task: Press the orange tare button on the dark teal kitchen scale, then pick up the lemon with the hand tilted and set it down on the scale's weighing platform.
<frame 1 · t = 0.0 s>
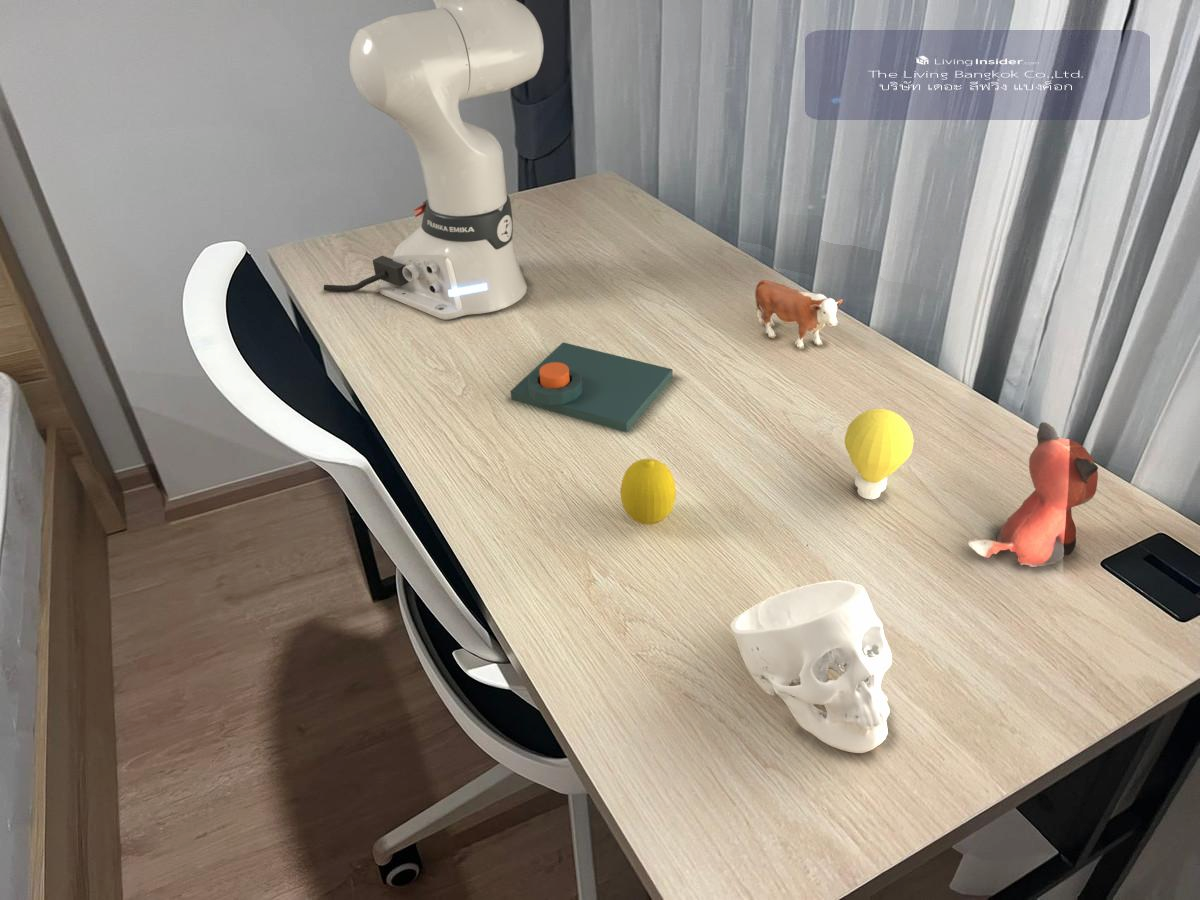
scale: (592, 389, 113), on the table
bull figurine: (794, 342, 121), on the table
lemon: (648, 523, 93), on the table
stuffed fox: (1015, 548, 88), on the table
skull bowl: (808, 685, 76), on the table
tare button: (554, 375, 109), point 3 cm above the table, slide at 0.1 cm
light bulb: (868, 493, 95), on the table
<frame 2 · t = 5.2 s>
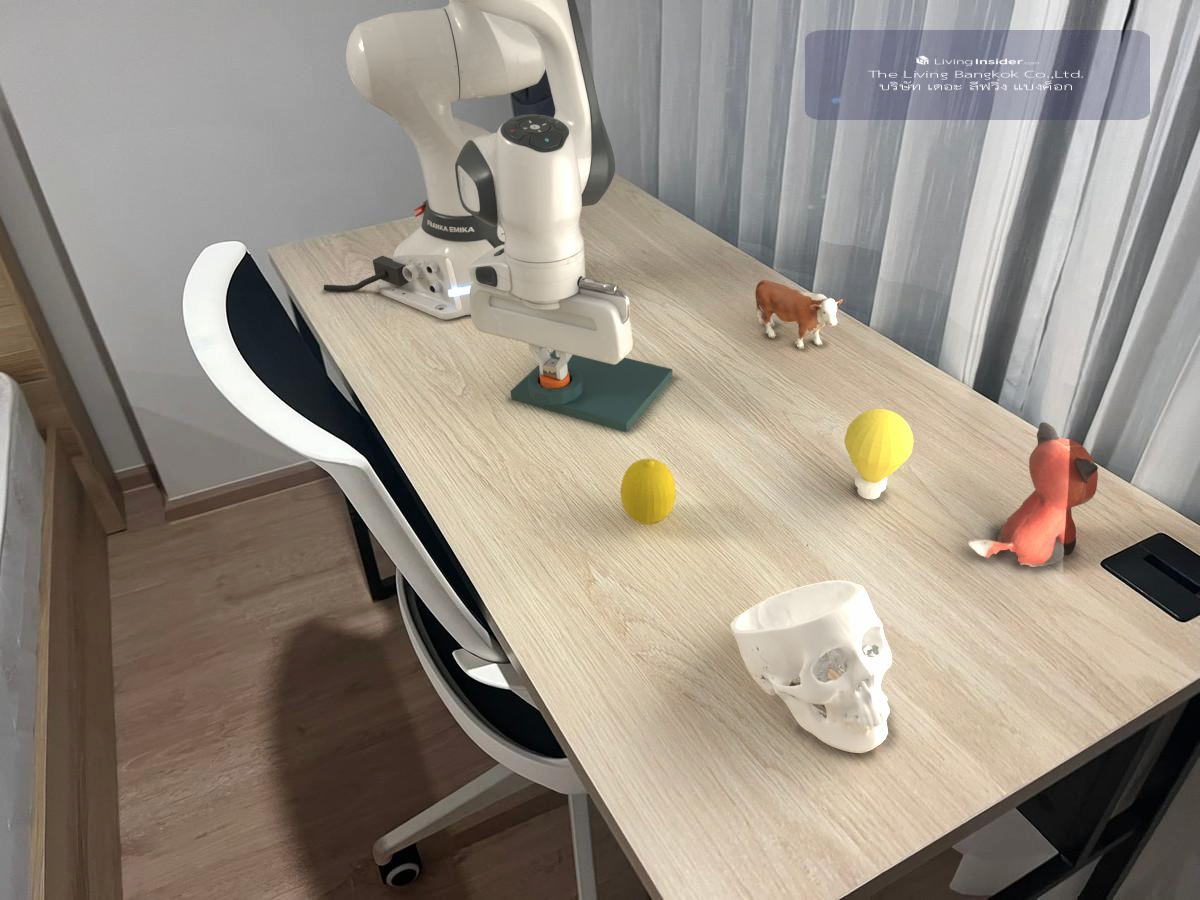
hand: (553, 375, 109), 4 cm above the table, tool pointing down, fingers closed, pressing on tare button
tare button: (554, 380, 110), point 3 cm above the table, slide at -0.6 cm, touching gripper
everything else where it was.
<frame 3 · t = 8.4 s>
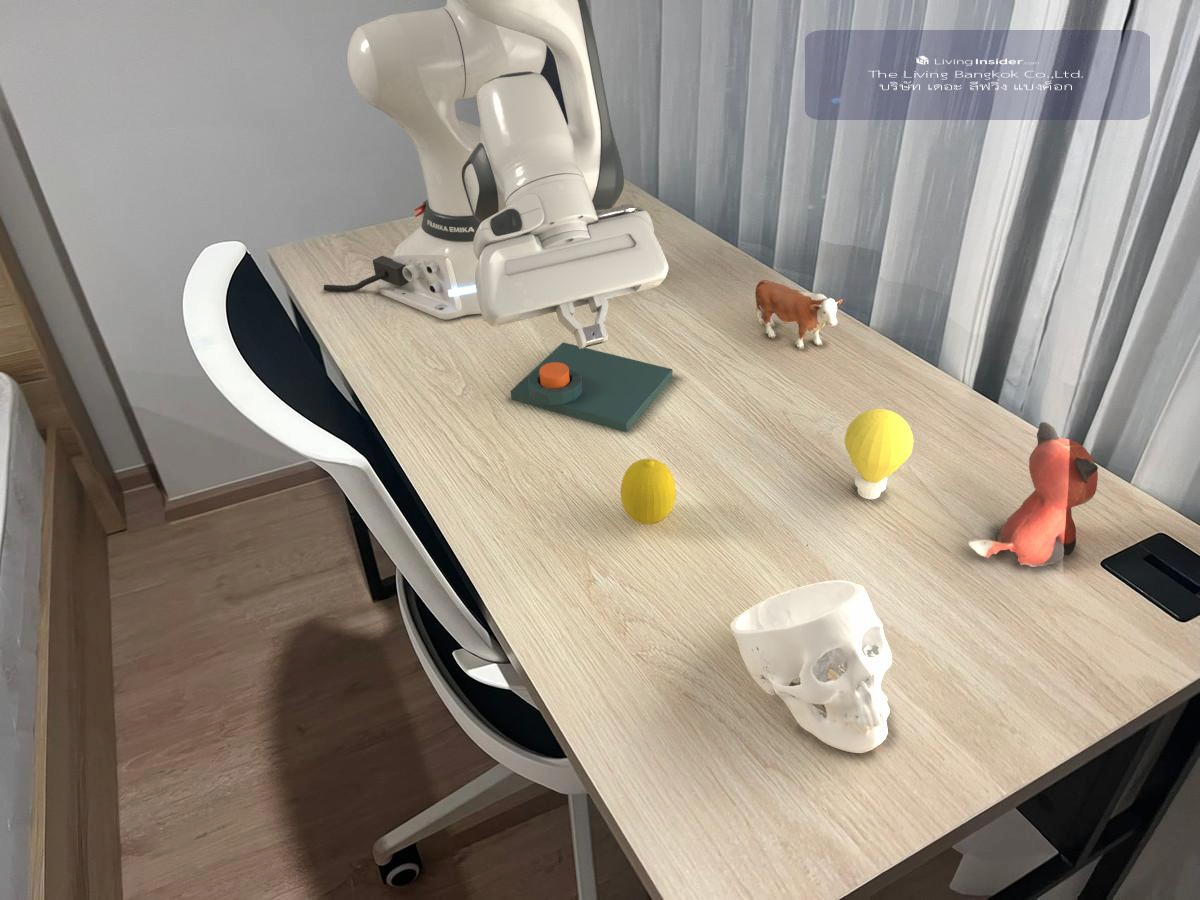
hand: (594, 344, 93), 15 cm above the table, tool tilted 45°, fingers closed
tare button: (554, 375, 109), point 3 cm above the table, slide at 0.1 cm
everything else where it was.
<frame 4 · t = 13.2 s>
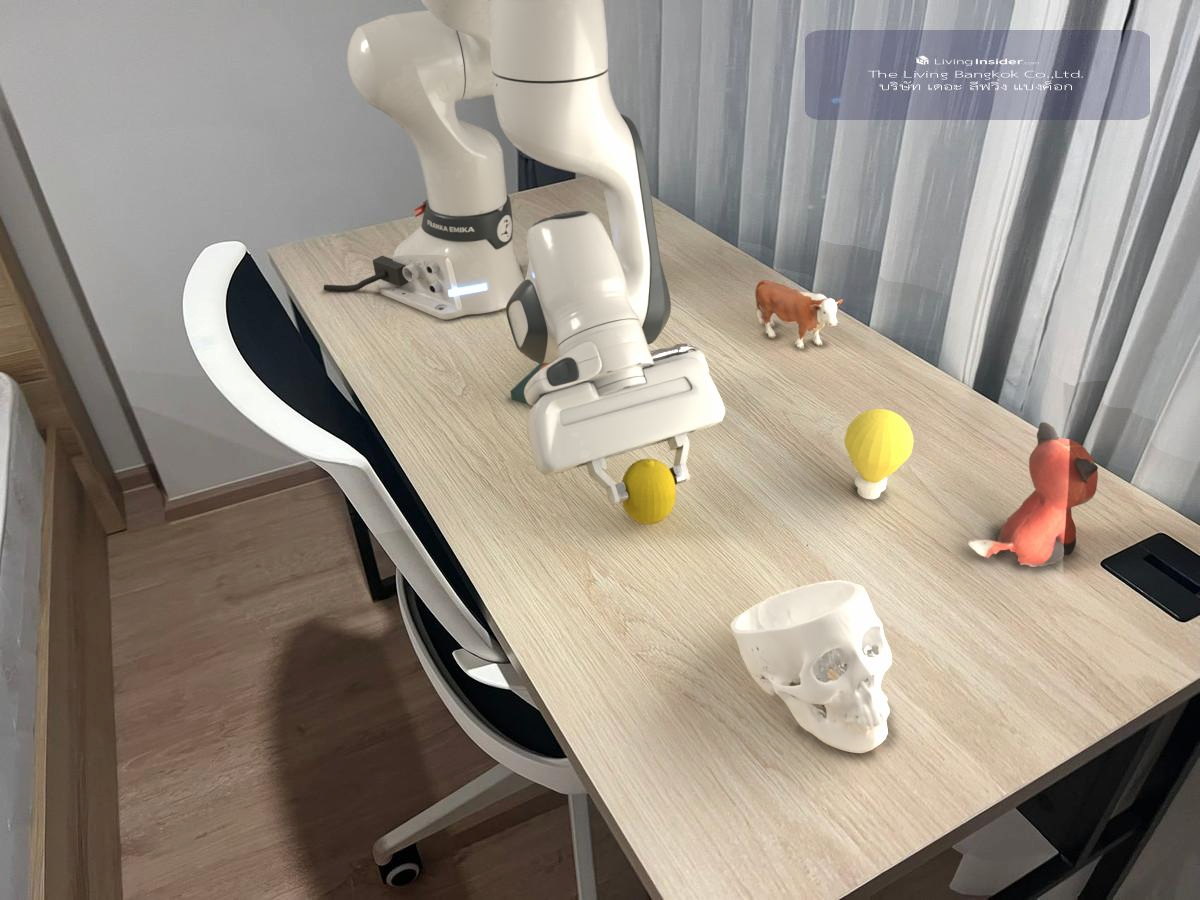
hand: (650, 492, 90), 4 cm above the table, tool tilted 45°, fingers closed on lemon, 5 cm apart
lemon: (648, 523, 93), on the table, touching gripper
everything else where it was.
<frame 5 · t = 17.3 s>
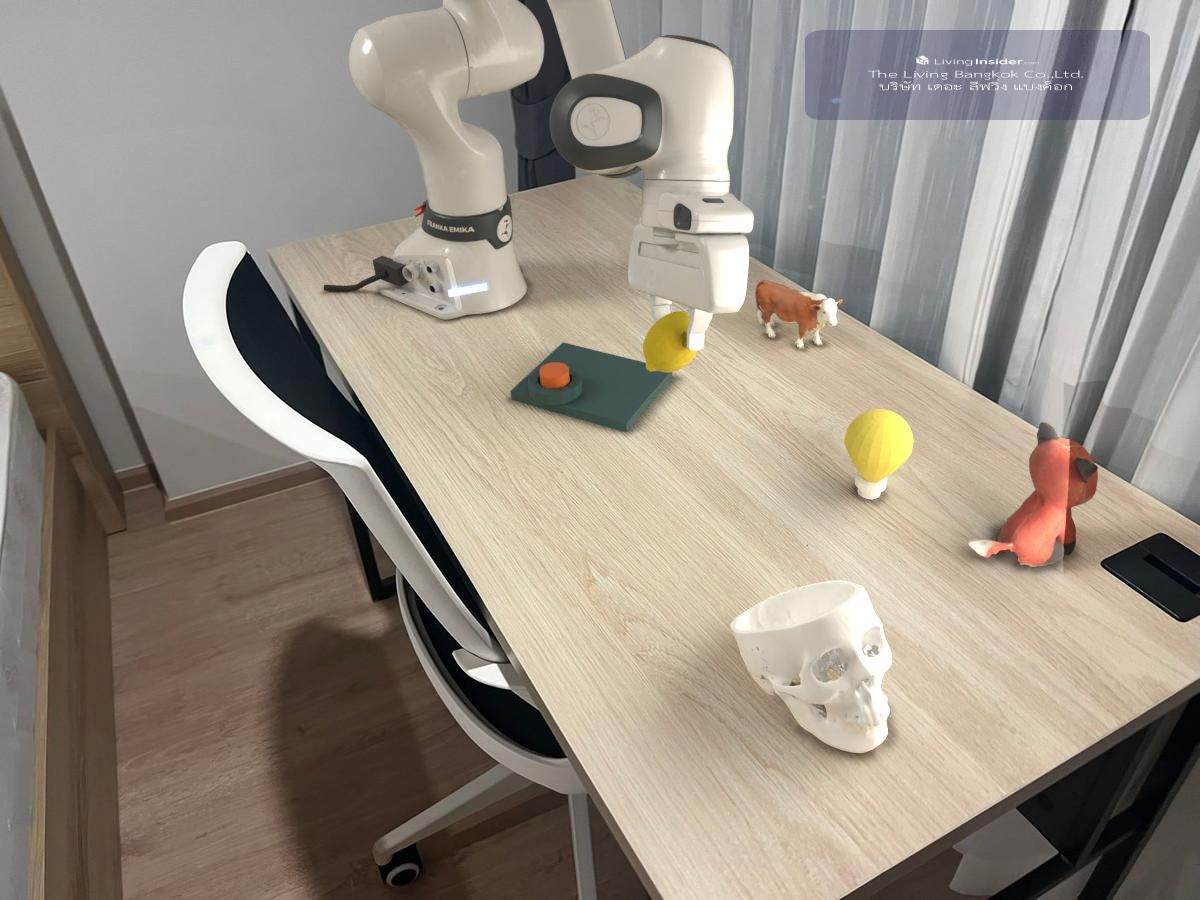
hand: (678, 343, 96), 13 cm above the table, tool tilted 20°, fingers closed on lemon, 5 cm apart
lemon: (646, 371, 96), point 11 cm above the table, touching gripper
everything else where it was.
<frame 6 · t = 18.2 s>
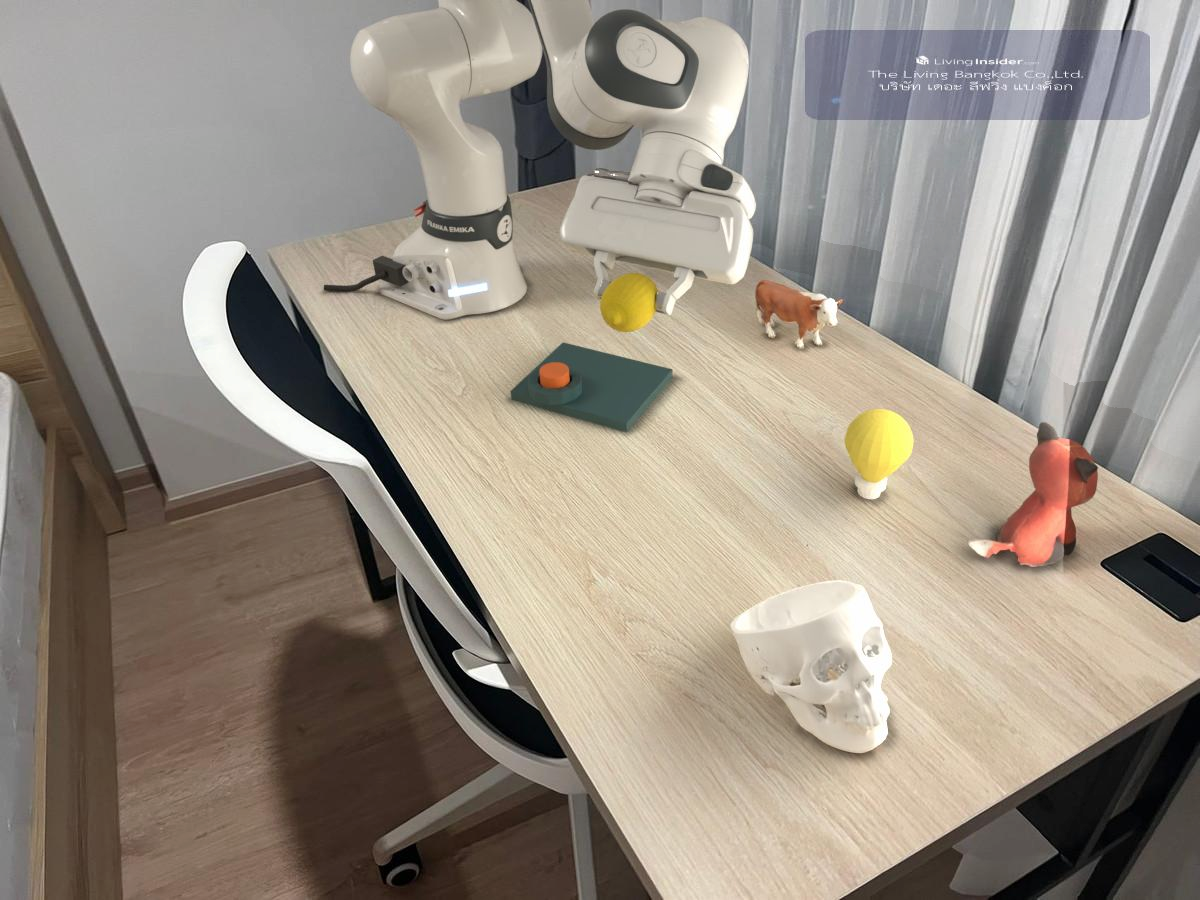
hand: (631, 305, 92), 18 cm above the table, tool tilted 45°, fingers closed on lemon, 5 cm apart
lemon: (610, 321, 89), point 19 cm above the table, touching gripper
everything else where it was.
when the fingers open (4 cm above the table, at t = 24.2 s): lemon stays where it is, resting on scale.
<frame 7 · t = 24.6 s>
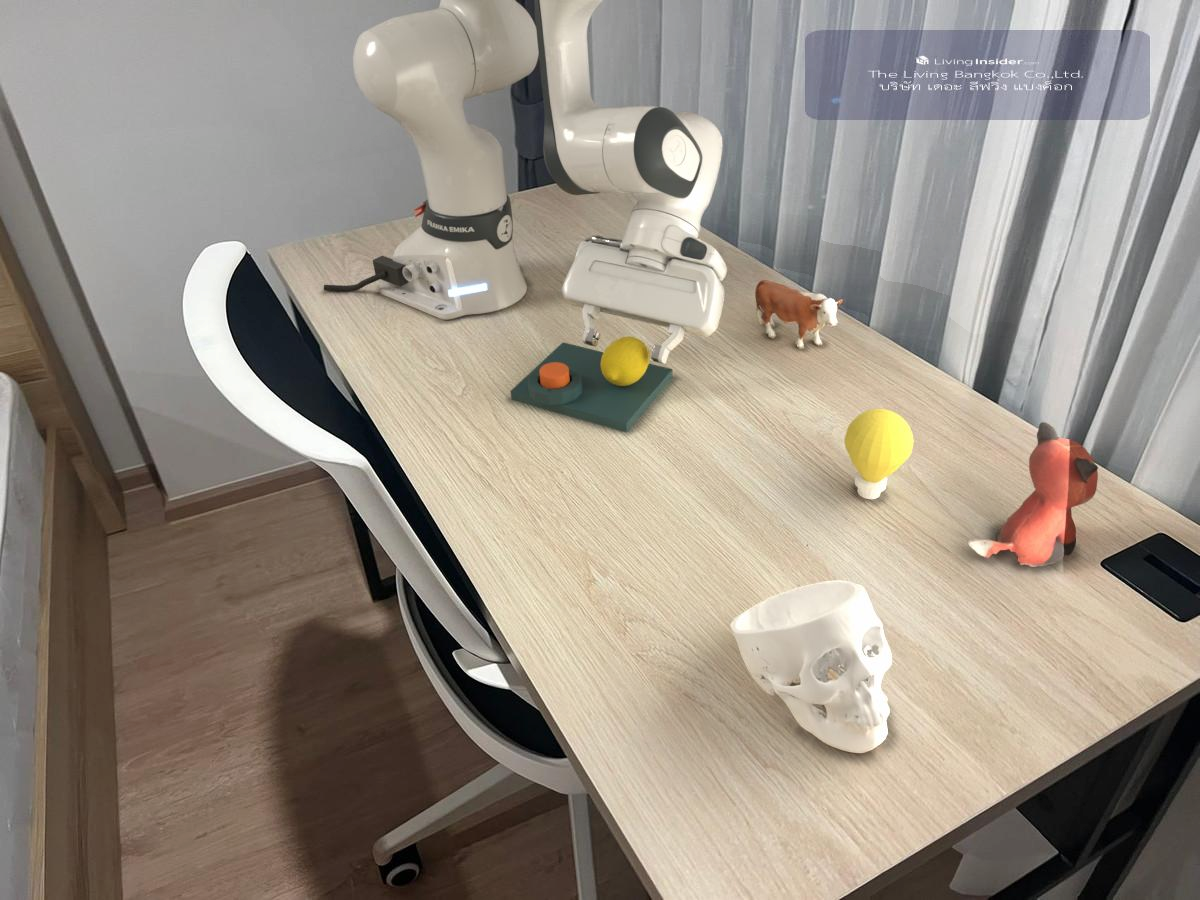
hand: (622, 352, 110), 5 cm above the table, tool tilted 45°, fingers open, 8 cm apart
lemon: (609, 378, 107), point 4 cm above the table, touching scale
everything else where it was.
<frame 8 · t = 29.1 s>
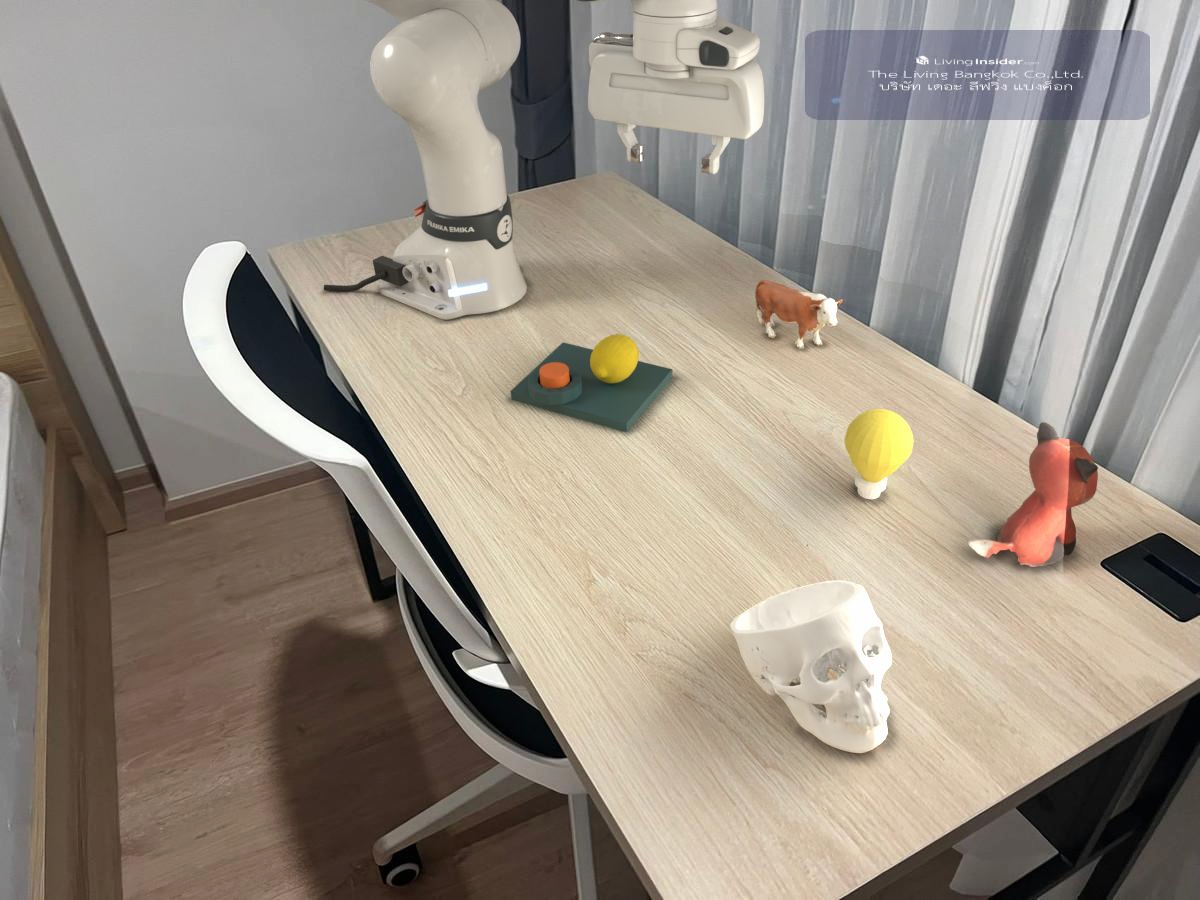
hand: (672, 166, 104), 25 cm above the table, tool pointing down, fingers open, 8 cm apart
lemon: (598, 375, 108), point 4 cm above the table, touching scale
everything else where it was.
at the end: tare button pushed in 0.9 cm at the most during the clip, back to where it started at the end; tare button slide at 0.1 cm; lemon touching scale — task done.
